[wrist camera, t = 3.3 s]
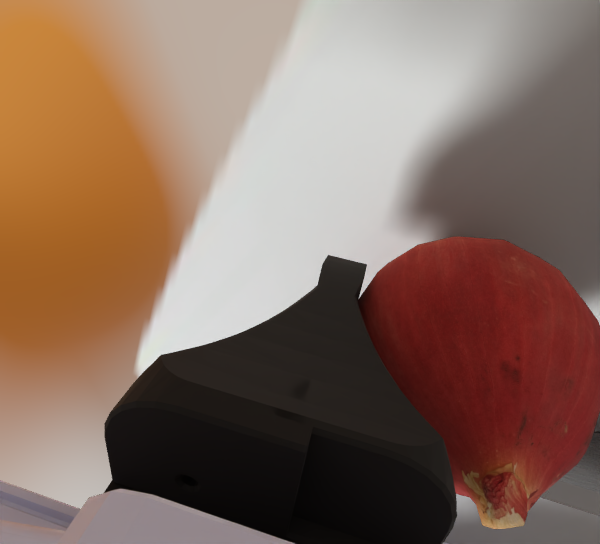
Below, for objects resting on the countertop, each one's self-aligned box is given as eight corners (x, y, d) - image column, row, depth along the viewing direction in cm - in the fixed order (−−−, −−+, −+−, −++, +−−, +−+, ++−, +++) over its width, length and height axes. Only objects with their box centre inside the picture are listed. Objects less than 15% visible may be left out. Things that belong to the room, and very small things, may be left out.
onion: (581, 247, 13) (837, 514, 6) (461, 368, 16) (539, 640, 9) (413, 157, 12) (482, 343, 5) (321, 303, 15) (286, 543, 8)
